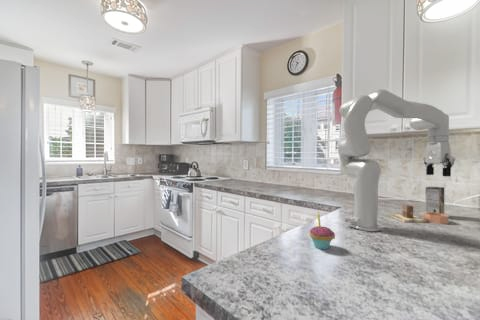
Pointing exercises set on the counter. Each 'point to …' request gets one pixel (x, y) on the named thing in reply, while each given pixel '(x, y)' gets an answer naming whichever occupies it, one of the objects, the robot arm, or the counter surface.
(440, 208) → the coffee box
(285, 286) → the counter surface
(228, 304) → the counter surface
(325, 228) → the cupcake
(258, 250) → the counter surface
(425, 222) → the mat
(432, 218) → the bowl
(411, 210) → the lid
